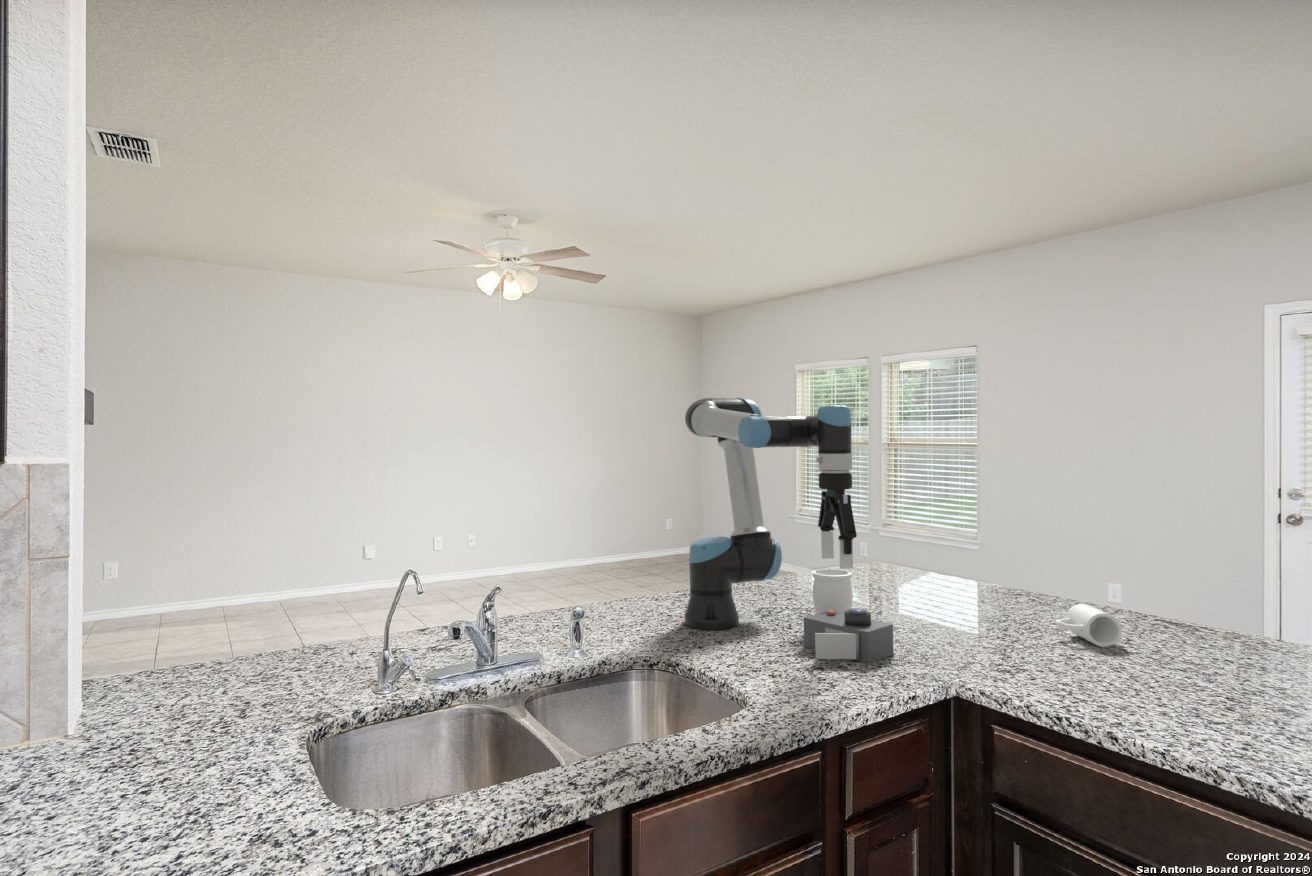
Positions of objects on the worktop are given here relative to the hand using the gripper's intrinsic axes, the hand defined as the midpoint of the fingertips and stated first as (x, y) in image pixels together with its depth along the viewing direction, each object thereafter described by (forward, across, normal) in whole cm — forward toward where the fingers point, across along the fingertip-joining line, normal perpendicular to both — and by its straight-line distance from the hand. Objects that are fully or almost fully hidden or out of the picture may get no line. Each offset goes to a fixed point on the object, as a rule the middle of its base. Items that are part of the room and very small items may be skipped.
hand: (836, 563), depth 156 cm
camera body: (+21, -4, +4) cm, 22 cm away
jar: (+22, -23, +6) cm, 32 cm away
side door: (+21, +4, -2) cm, 21 cm away
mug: (+22, -5, +63) cm, 67 cm away
